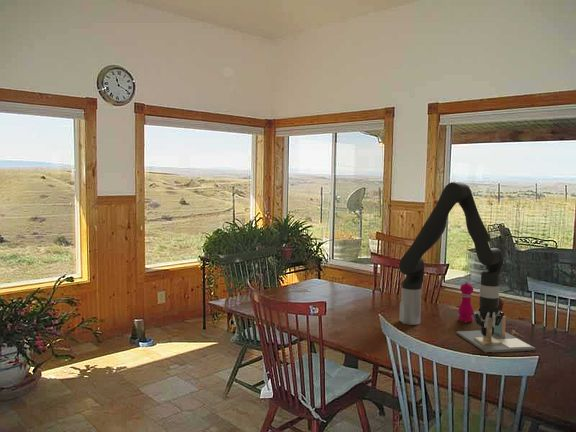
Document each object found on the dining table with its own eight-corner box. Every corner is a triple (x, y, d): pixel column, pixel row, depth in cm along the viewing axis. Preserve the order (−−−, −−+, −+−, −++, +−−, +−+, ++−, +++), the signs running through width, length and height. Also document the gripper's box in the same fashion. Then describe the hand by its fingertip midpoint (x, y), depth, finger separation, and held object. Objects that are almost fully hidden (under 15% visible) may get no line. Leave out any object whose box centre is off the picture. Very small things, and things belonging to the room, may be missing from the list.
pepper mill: (459, 317, 242) (460, 278, 241) (474, 319, 238) (476, 280, 237) (456, 320, 236) (458, 281, 234) (471, 323, 232) (473, 282, 231)
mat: (486, 352, 193) (486, 350, 192) (456, 333, 216) (456, 331, 216) (535, 350, 196) (535, 347, 196) (501, 331, 219) (501, 329, 219)
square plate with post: (482, 345, 198) (483, 319, 197) (474, 339, 205) (475, 314, 204) (500, 344, 199) (501, 318, 198) (491, 338, 206) (492, 314, 205)
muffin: (484, 310, 256) (484, 291, 255) (506, 313, 249) (506, 295, 248) (477, 314, 247) (477, 295, 246) (499, 318, 240) (500, 299, 239)
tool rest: (509, 348, 195) (509, 347, 195) (495, 340, 205) (495, 339, 205) (531, 347, 197) (531, 346, 197) (516, 339, 206) (516, 338, 206)
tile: (501, 336, 209) (502, 316, 208) (492, 331, 216) (493, 312, 215) (505, 336, 209) (505, 316, 209) (495, 331, 216) (496, 312, 216)
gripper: (478, 298, 196) (477, 339, 197) (509, 297, 198) (507, 337, 199) (469, 293, 203) (467, 333, 205) (499, 292, 205) (497, 331, 207)
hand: (487, 335), depth 202 cm, fingers closed on square plate with post, 2 cm apart
